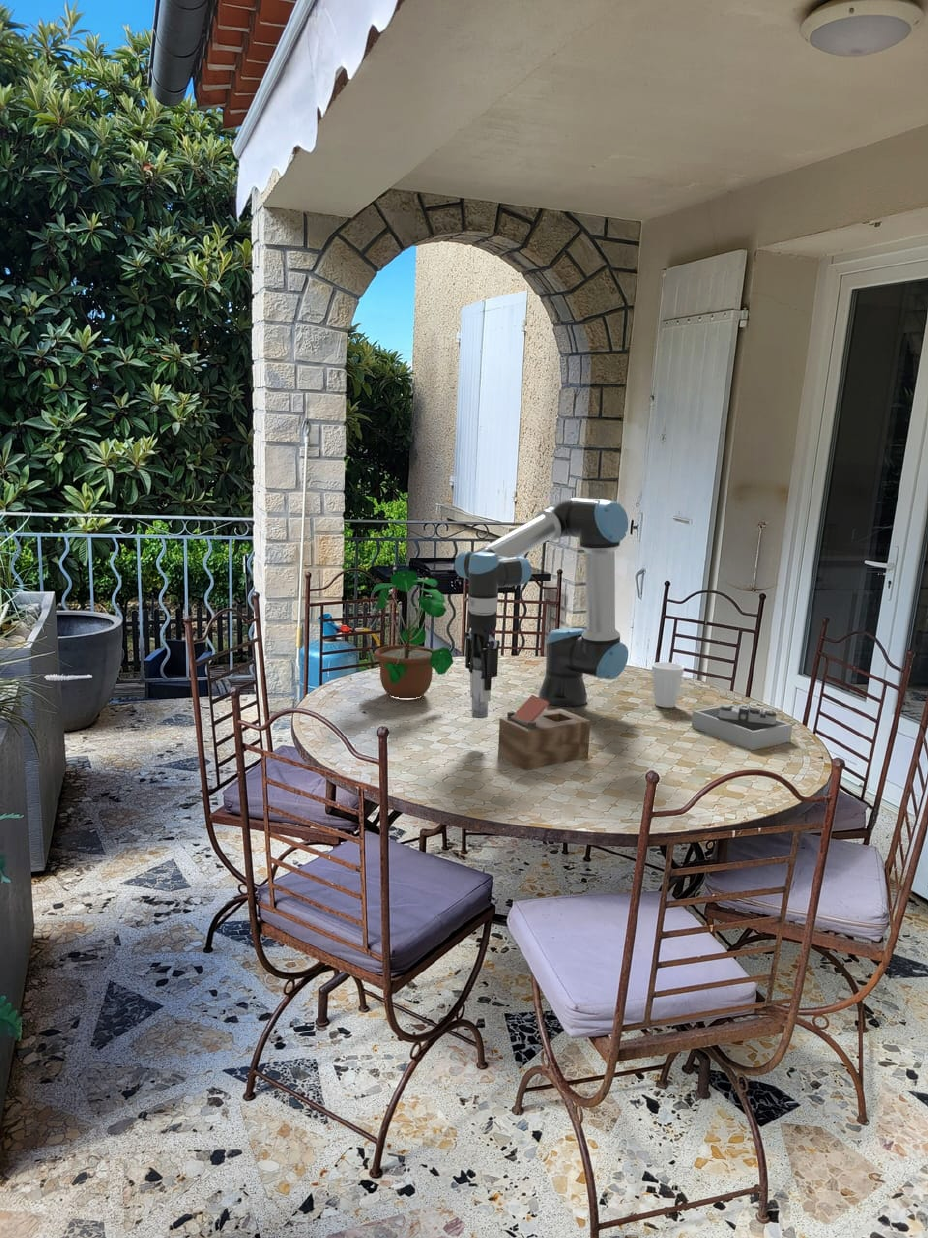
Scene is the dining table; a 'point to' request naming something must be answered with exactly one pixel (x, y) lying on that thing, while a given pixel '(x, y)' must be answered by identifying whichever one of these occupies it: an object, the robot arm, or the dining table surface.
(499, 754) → the block
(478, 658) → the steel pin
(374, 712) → the dining table surface
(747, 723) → the camera
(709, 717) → the camera corral
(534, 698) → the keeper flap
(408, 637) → the potted plant
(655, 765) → the dining table surface
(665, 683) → the cup
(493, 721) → the dining table surface
